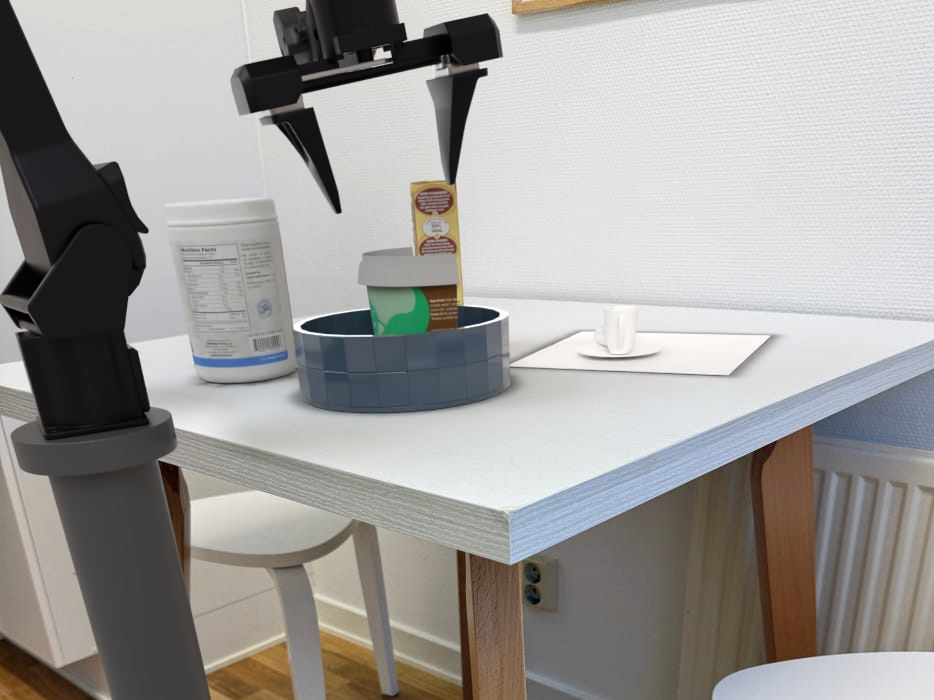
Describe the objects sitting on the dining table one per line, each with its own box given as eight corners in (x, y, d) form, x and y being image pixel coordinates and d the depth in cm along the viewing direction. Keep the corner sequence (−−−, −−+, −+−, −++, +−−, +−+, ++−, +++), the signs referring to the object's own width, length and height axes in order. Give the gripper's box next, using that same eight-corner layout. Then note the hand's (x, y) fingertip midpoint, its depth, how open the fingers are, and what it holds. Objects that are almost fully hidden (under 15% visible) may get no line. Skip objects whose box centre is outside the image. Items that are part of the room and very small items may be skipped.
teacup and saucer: (595, 344, 88) (596, 300, 86) (674, 346, 84) (676, 301, 83) (563, 360, 81) (563, 313, 79) (647, 363, 78) (649, 314, 76)
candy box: (468, 359, 84) (459, 178, 77) (424, 362, 84) (411, 181, 77) (460, 344, 92) (451, 179, 85) (420, 347, 91) (407, 181, 84)
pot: (347, 424, 63) (337, 345, 60) (274, 386, 77) (264, 320, 74) (550, 389, 70) (549, 317, 68) (451, 360, 84) (447, 299, 81)
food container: (353, 375, 77) (339, 251, 73) (419, 367, 79) (410, 246, 75) (390, 401, 67) (376, 260, 63) (465, 392, 69) (458, 253, 64)
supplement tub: (218, 366, 87) (188, 201, 80) (311, 363, 86) (289, 195, 79) (180, 387, 79) (142, 204, 72) (282, 384, 78) (254, 198, 71)
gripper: (430, -60, 67) (469, 168, 75) (189, -14, 63) (259, 221, 71) (485, -92, 58) (522, 171, 66) (208, -42, 54) (285, 232, 62)
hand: (395, 198), depth 67 cm, fingers open, 9 cm apart
